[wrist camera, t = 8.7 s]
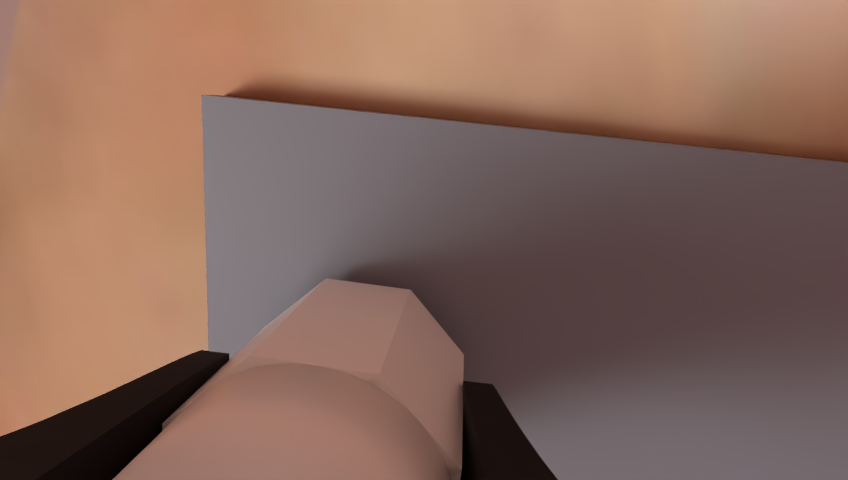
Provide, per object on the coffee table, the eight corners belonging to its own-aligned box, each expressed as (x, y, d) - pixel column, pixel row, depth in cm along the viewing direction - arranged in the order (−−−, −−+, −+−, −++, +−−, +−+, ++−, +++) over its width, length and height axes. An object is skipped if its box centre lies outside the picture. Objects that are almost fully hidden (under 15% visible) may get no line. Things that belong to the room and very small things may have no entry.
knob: (371, 241, 11) (226, 404, 4) (500, 398, 11) (545, 751, 5) (224, 358, 12) (-75, 633, 5) (349, 497, 12) (218, 901, 6)
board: (939, 171, 11) (984, 178, 10) (780, 566, 14) (804, 599, 14) (222, 95, 12) (202, 94, 11) (228, 495, 15) (213, 521, 14)
